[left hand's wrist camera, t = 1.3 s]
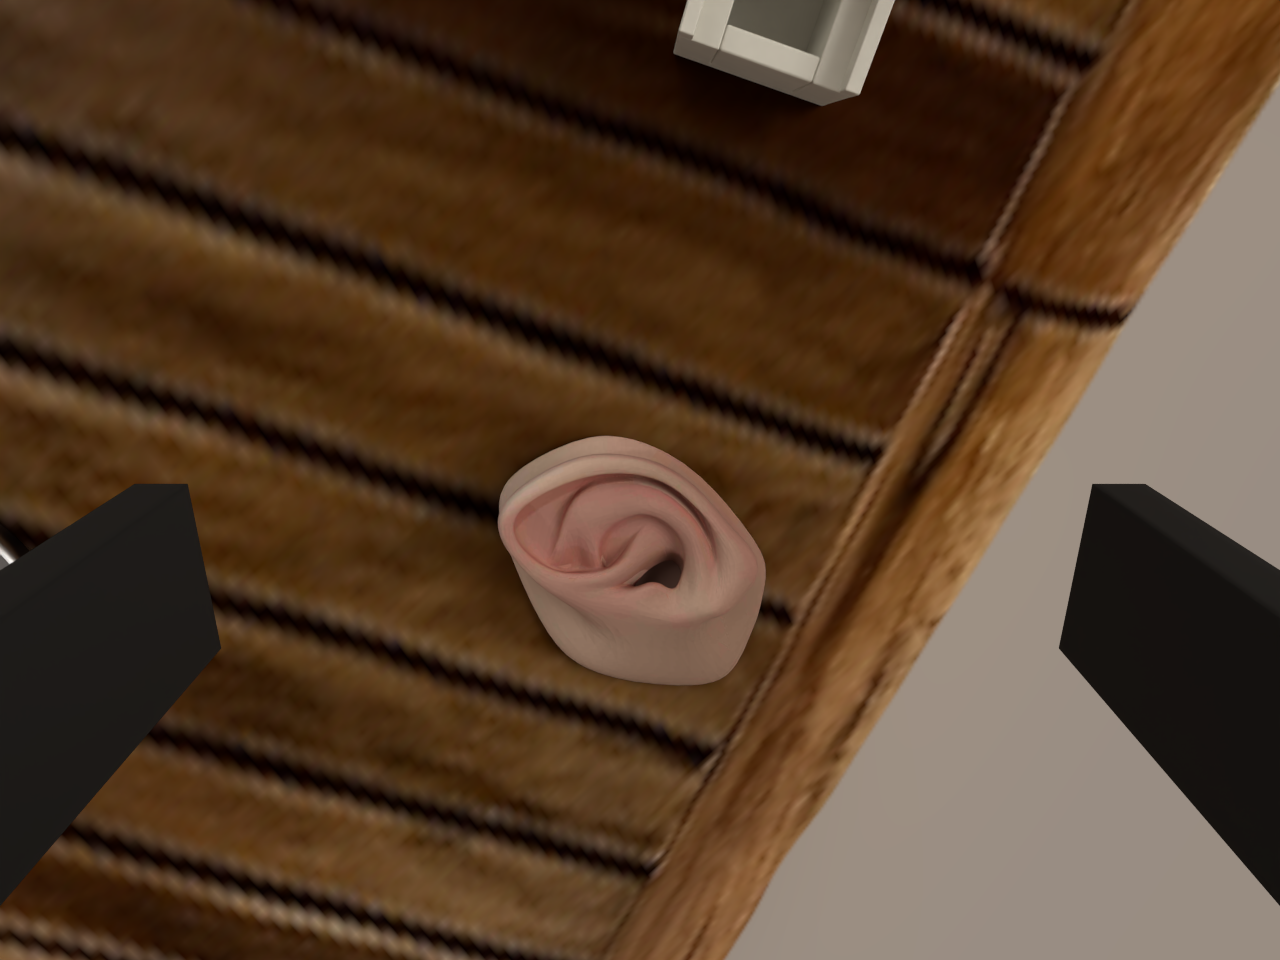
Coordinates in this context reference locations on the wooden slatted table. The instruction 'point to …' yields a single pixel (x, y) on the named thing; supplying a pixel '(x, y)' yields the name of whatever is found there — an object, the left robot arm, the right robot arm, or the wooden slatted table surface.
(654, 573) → the anatomical model
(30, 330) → the wooden slatted table surface
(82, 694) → the left robot arm
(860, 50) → the pencil box
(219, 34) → the wooden slatted table surface
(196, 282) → the wooden slatted table surface
